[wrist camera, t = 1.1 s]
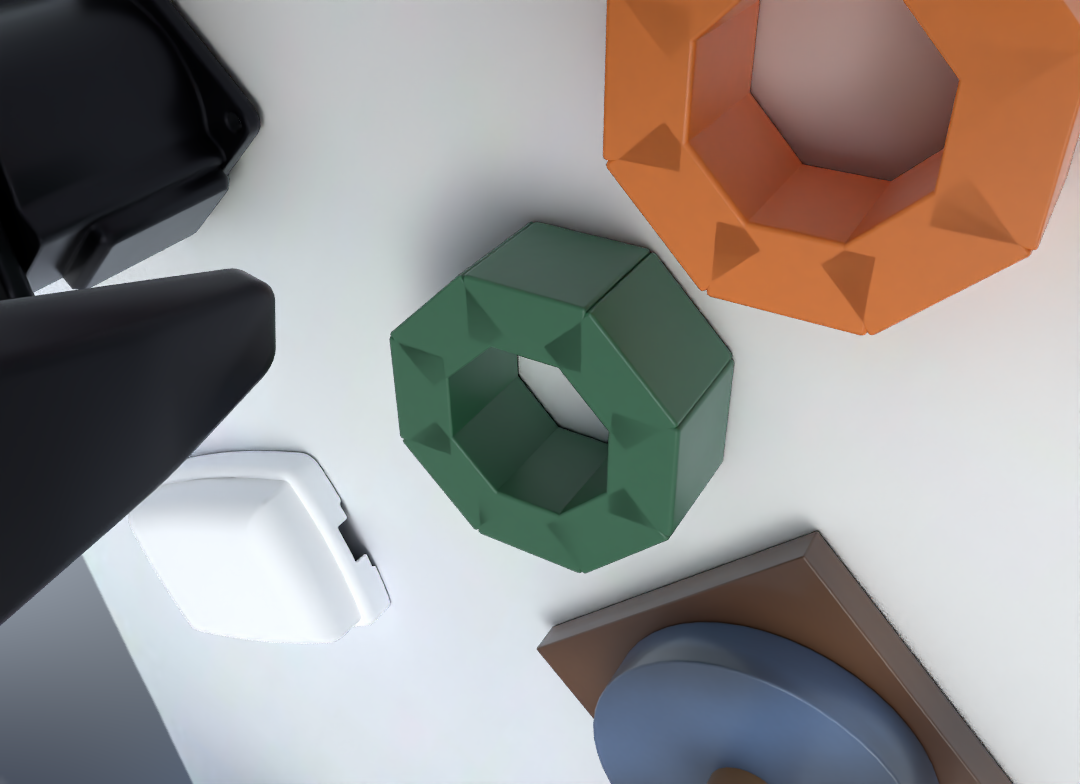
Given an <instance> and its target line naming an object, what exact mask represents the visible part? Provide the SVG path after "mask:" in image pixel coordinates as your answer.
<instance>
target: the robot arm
mask: <svg viewBox="0 0 1080 784" xmlns="http://www.w3.org/2000/svg"><path fill="white" fill-rule="evenodd" d="M238 117H239V118H238ZM239 119H240V120H239ZM240 121H241V122H240ZM259 129H260V119H259V116H258V113H257V111H256V110H255V108H254V106H253V105H252V104H251V103H250V101H249V100H248V99H247V98H246V96H245V95H244V94H243V93H242V91H241V90H240V89H239V88H238V86H237V85H236V84H235V83H234V81H233V80H232V79H231V78H230V76H229V75H228V74H227V73H226V71H225V70H224V69H223V68H222V66H221V65H220V64H219V63H218V61H217V60H216V59H215V58H214V56H213V55H212V54H211V53H210V51H209V50H208V49H207V48H206V46H205V45H204V44H203V43H202V41H201V40H200V39H199V38H198V36H197V35H196V34H195V33H194V31H193V30H192V29H191V28H190V26H189V25H188V24H187V23H186V21H185V20H184V19H183V18H182V16H181V15H180V14H179V13H178V11H177V10H176V9H175V8H174V6H173V5H172V4H171V3H170V1H169V0H0V625H1V624H3V623H4V622H5V621H6V620H7V619H8V618H10V617H11V616H12V615H13V614H14V613H15V612H16V611H17V610H19V609H20V608H21V607H22V606H23V605H24V604H25V603H27V602H28V601H29V600H30V599H31V598H32V597H34V595H36V594H37V593H38V592H39V591H40V590H41V589H43V588H44V587H45V586H46V585H47V584H48V583H50V582H51V581H52V580H53V579H54V578H55V577H56V576H58V575H59V574H60V573H61V572H62V571H63V570H64V569H65V568H67V567H68V566H69V565H70V564H71V563H72V562H74V561H75V560H76V559H77V558H78V557H79V556H80V555H82V554H83V553H84V552H85V551H86V550H87V549H88V548H90V547H91V546H92V545H93V544H94V543H95V542H97V541H98V540H99V539H100V538H101V537H102V536H103V535H105V534H106V533H107V532H108V531H109V530H110V529H111V528H113V527H114V526H115V525H116V524H117V523H118V522H119V521H121V520H122V519H123V518H124V517H125V516H126V515H127V514H129V513H130V512H131V511H132V510H133V509H134V508H135V507H137V506H138V505H139V504H140V503H141V502H142V501H143V500H145V499H146V498H147V497H148V496H149V495H150V494H151V493H152V492H154V491H155V490H156V489H157V488H158V487H159V486H160V485H161V484H162V483H163V482H164V481H165V480H167V479H168V478H169V477H170V476H171V475H172V474H173V473H174V472H175V471H176V470H177V469H178V468H179V467H180V466H181V464H182V463H183V462H184V461H185V460H186V459H187V458H188V457H189V456H190V455H191V454H192V453H193V452H194V451H195V450H196V449H197V447H198V446H199V445H200V444H201V443H202V442H203V441H204V440H205V439H206V438H207V437H208V436H209V435H210V433H211V432H212V431H213V430H214V429H215V428H216V427H217V426H218V425H219V424H220V423H221V422H222V421H223V420H224V418H225V417H226V416H227V415H228V414H229V413H230V412H231V411H232V410H233V409H234V408H235V407H236V406H237V404H238V403H239V402H240V401H241V400H242V399H243V398H244V397H245V396H246V395H247V394H248V393H249V392H250V390H251V389H252V388H253V387H254V386H255V385H256V384H257V383H258V382H259V381H260V380H261V379H262V378H263V376H264V375H265V374H266V373H267V371H268V370H269V368H270V366H271V364H272V362H273V360H274V356H275V350H276V339H275V297H274V293H273V291H272V289H271V287H270V286H269V285H268V284H266V283H265V282H263V281H261V280H259V279H257V278H255V277H254V276H252V275H250V274H248V273H246V272H244V271H242V270H239V269H233V268H232V269H223V270H216V271H209V272H202V273H194V274H187V275H180V276H173V277H166V278H159V279H152V280H145V281H137V282H130V283H123V284H116V285H109V286H102V287H95V288H91V287H93V286H95V285H97V284H99V283H101V282H102V281H104V280H106V279H108V278H110V277H112V276H114V275H116V274H118V273H120V272H122V271H124V270H125V269H127V268H129V267H131V266H133V265H135V264H137V263H139V262H141V261H143V260H145V259H147V258H149V257H150V256H152V255H154V254H156V253H158V252H160V251H162V250H164V249H166V248H168V247H170V246H172V245H173V244H175V243H177V242H179V241H181V240H183V239H185V238H187V237H189V236H191V235H193V234H194V233H196V232H197V231H198V229H199V228H200V227H201V225H202V224H203V223H204V221H205V220H206V218H207V217H208V216H209V214H210V213H211V212H212V210H213V209H214V208H215V206H216V205H217V204H218V202H219V201H220V200H221V198H222V197H223V196H224V194H225V193H226V192H227V190H228V187H229V177H228V176H227V175H228V173H229V172H230V171H231V169H232V168H233V166H234V165H235V164H236V162H237V161H238V160H239V158H240V157H241V156H242V154H243V153H244V151H245V150H246V149H247V147H248V146H249V145H250V143H251V142H252V140H253V139H254V138H255V136H256V135H257V134H258V132H259ZM61 278H64V279H65V280H66V282H67V283H68V284H69V285H70V286H71V288H72V289H79V290H73V291H66V292H59V293H52V294H45V295H38V296H35V295H34V293H33V292H35V291H37V290H39V289H41V288H43V287H45V286H47V285H49V284H51V283H53V282H55V281H57V280H59V279H61Z"/></svg>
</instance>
